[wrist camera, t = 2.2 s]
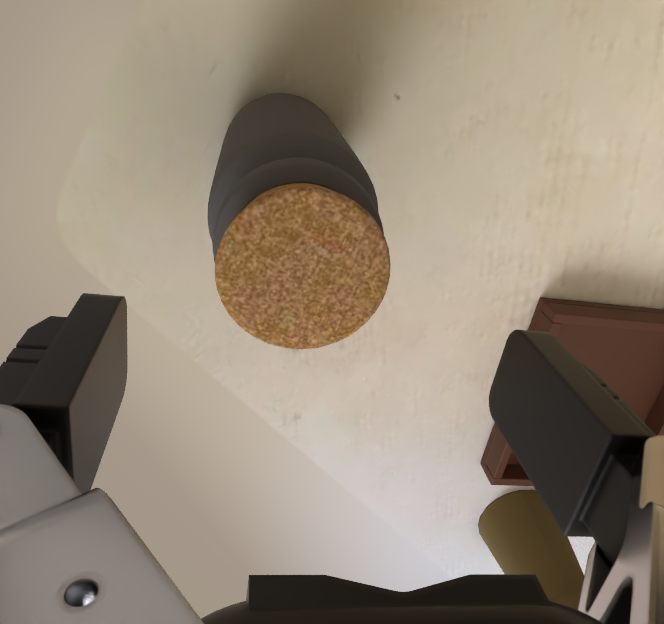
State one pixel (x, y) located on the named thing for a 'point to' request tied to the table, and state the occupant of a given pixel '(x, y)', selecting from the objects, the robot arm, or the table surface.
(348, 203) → the bottle
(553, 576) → the pepper shaker
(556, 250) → the table surface
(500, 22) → the table surface
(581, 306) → the tray
